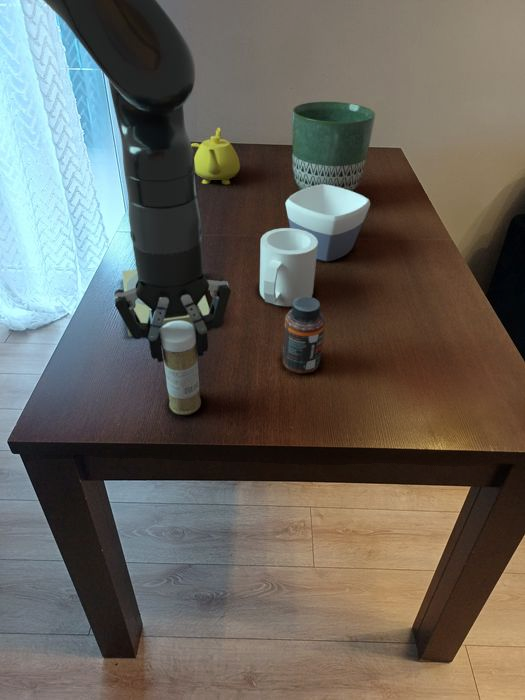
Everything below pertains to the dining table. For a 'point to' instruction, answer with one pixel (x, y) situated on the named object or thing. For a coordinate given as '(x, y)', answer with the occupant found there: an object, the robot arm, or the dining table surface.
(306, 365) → the supplement bottle
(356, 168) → the planter
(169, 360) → the sprinkles bottle
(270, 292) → the mug
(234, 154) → the teapot
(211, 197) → the dining table surface
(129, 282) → the scale
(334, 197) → the bowl
